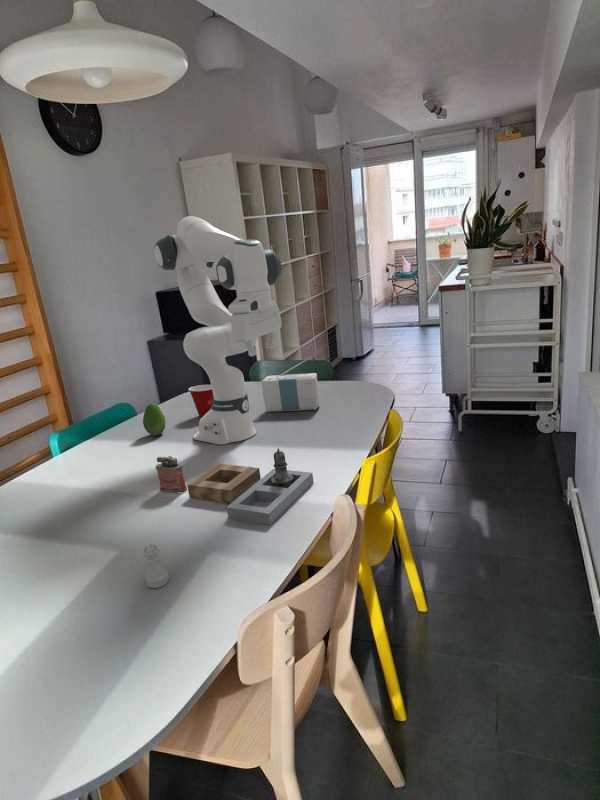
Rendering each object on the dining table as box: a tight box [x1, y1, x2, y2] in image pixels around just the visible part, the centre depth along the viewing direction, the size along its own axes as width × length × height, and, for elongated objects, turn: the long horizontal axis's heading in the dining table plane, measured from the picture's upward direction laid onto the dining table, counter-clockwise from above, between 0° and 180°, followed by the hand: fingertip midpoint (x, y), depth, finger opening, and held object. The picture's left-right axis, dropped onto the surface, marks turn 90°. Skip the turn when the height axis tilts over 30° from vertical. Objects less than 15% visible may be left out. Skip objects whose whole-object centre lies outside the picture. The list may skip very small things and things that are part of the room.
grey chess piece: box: [271, 448, 293, 488], centre depth 142 cm, size 6×6×12 cm
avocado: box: [142, 402, 166, 437], centre depth 200 cm, size 8×8×12 cm
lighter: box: [155, 455, 188, 494], centre depth 151 cm, size 8×3×10 cm, turn 71°
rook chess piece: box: [142, 543, 169, 589], centre depth 109 cm, size 4×4×8 cm
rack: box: [225, 468, 314, 526], centre depth 139 cm, size 12×23×3 cm, turn 153°
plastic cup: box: [188, 384, 214, 419], centre depth 216 cm, size 11×11×12 cm
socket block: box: [186, 463, 262, 505], centre depth 148 cm, size 14×14×4 cm
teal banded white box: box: [261, 356, 321, 413], centre depth 210 cm, size 21×8×20 cm, turn 77°
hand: (261, 351), depth 151 cm, fingers open, 8 cm apart
